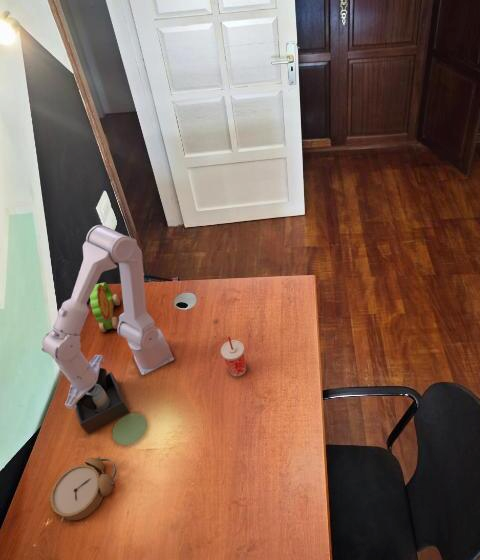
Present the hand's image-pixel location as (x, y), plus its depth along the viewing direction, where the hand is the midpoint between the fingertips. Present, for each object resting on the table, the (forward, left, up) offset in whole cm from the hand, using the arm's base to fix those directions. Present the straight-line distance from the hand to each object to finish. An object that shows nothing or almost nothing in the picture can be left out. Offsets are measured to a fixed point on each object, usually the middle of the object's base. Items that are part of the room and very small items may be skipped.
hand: (98, 399), depth 123 cm
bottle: (0, 0, -2) cm, 2 cm away
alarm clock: (+9, +20, -4) cm, 22 cm away
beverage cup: (-35, +10, -4) cm, 36 cm away
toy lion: (-11, -30, -4) cm, 32 cm away
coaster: (-4, +10, -4) cm, 12 cm away
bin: (0, 0, -4) cm, 4 cm away
